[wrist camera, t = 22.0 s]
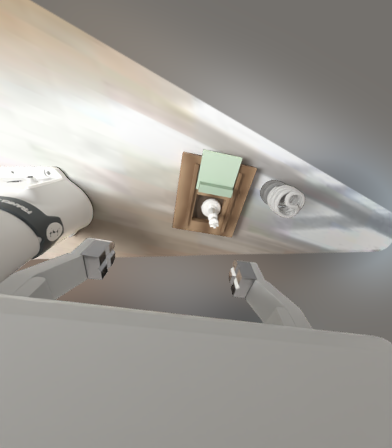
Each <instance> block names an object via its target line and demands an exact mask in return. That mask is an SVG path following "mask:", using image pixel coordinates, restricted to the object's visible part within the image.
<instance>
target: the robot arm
mask: <svg viewBox="0 0 392 448" xmlns="http://www.w3.org/2000/svg"><path fill="white" fill-rule="evenodd" d="M49 172H50V173H51V174H50V173H49ZM92 218H93V208H92V205H91V202H90V200H89V199H88V197H87V196H86V194H85V193H84V192H83V191H82V190H81V189H80V188H79V187H78V186H76V185H75V184H74V183H72V182H71V181H70V180H68V179H67V177H66V176H65V175H64V173H63V172H62V171H61V170H60V169H59V168H57V167H0V448H392V343H390V342H389V341H387V340H386V339H383V338H381V337H377V336H371V335H361V334H352V333H343V332H334V331H325V330H316V329H312V327H311V325H310V324H309V322H308V320H307V319H306V318H305V315H304V314H303V312H302V310H301V309H300V308H299V307H298V306H296V305H295V304H294V303H293V302H292V301H290V300H289V299H288V298H287V297H286V296H285V295H283V294H282V293H281V292H280V291H279V290H277V289H276V288H275V287H274V286H273V285H272V284H270V283H269V282H268V281H265V279H264V277H263V275H262V273H261V271H260V269H259V267H258V265H257V264H256V263H255V262H246V261H239V260H234V262H233V267H232V268H231V269H230V272H229V282H230V283H231V284H232V286H231V291H232V295H233V296H234V297H240V298H245V300H246V301H247V302H248V303H249V305H250V306H251V307H252V309H253V310H254V311H255V312H256V314H257V315H258V316H259V318H260V319H261V320H262V321H263V323H254V322H246V321H236V320H228V319H219V318H209V317H201V316H193V315H183V314H175V313H166V312H157V311H148V310H138V309H131V308H121V307H112V306H104V305H95V304H86V303H77V302H68V301H58V300H56V299H57V298H59V297H60V296H61V295H63V294H65V293H66V292H68V291H70V290H71V289H73V288H74V287H76V286H77V285H79V284H80V283H82V282H84V281H85V280H87V278H90V279H100V280H102V279H103V278H104V276H105V275H106V273H107V272H108V270H107V268H109V267H111V266H112V264H113V262H114V259H115V251H114V250H113V248H114V247H115V246H114V242H113V241H107V240H101V239H95V238H87V239H85V240H84V241H83V242H82V243H81V244H80V245H79V246H78V247H77V248H76V249H75V250H73V251H72V252H71V253H67V254H64V255H61V256H59V257H56V258H53V259H50V260H48V261H45V262H43V263H40V264H37V265H35V266H32V267H29V268H26V269H24V270H21V271H18V272H15V271H16V270H18V269H19V268H20V267H21V266H23V265H24V264H25V263H26V262H28V261H29V260H31V259H34V258H37V257H38V256H40V255H42V254H43V253H45V251H47V250H48V249H49V248H51V247H52V246H54V245H55V244H57V243H59V242H60V241H62V240H63V239H65V238H67V237H72V236H73V235H75V234H76V233H77V231H78V230H80V229H82V228H84V227H86V226H87V225H88V224H89V223H90V222H91V220H92ZM14 272H15V273H14ZM11 274H12V275H11Z"/></svg>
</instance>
